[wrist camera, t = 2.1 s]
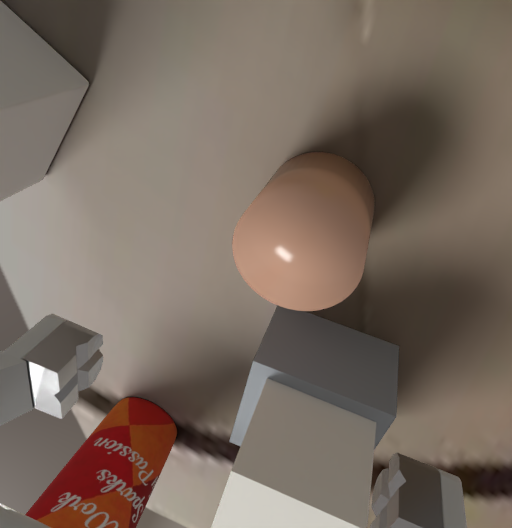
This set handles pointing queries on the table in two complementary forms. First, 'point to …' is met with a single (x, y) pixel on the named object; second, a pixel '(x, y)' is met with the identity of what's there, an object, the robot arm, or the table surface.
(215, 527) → the tower top block
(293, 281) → the peach rounded cylinder
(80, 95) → the milk carton
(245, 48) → the table surface
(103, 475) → the paper cup
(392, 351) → the tower base block
